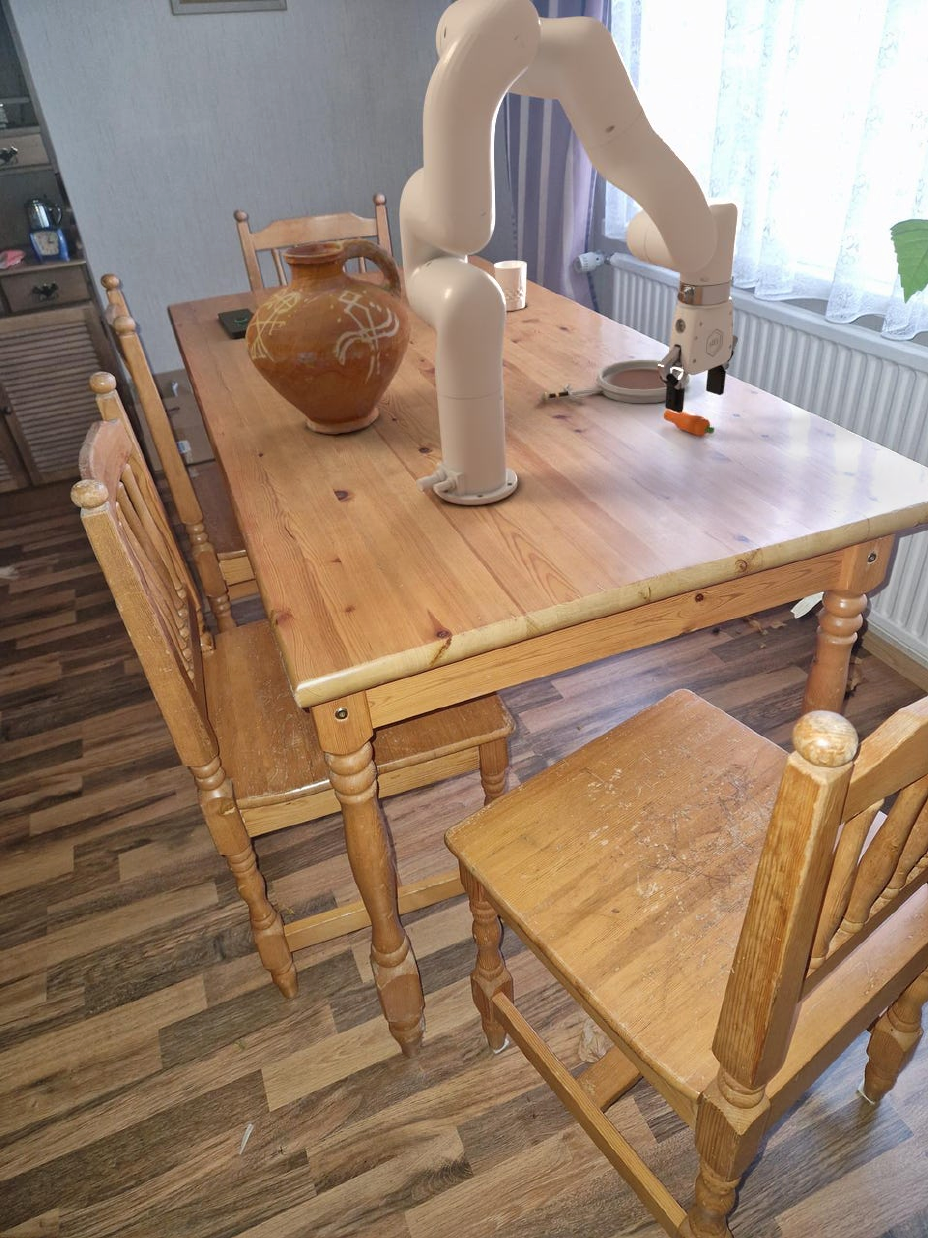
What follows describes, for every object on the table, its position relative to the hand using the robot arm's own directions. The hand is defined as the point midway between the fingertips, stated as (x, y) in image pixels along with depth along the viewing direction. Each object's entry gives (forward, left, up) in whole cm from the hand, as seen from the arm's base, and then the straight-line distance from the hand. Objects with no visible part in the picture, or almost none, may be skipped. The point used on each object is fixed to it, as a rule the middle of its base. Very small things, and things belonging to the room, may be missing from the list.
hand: (694, 401), depth 132 cm
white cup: (+26, +81, -5) cm, 85 cm away
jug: (-41, +47, -5) cm, 62 cm away
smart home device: (-29, +120, -5) cm, 124 cm away
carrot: (-1, +1, -5) cm, 5 cm away
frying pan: (+3, +22, -5) cm, 22 cm away
